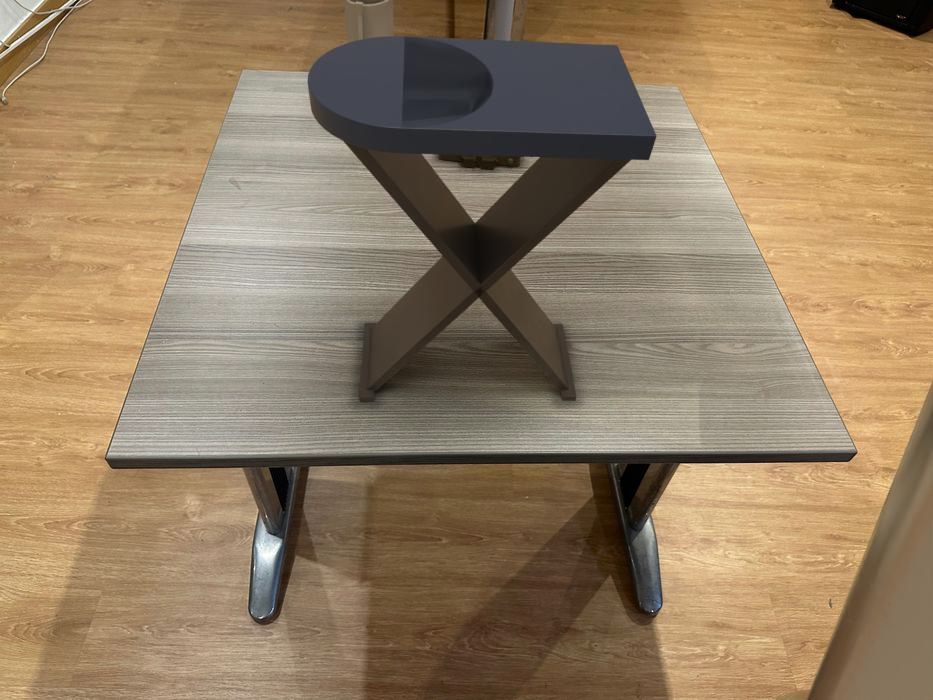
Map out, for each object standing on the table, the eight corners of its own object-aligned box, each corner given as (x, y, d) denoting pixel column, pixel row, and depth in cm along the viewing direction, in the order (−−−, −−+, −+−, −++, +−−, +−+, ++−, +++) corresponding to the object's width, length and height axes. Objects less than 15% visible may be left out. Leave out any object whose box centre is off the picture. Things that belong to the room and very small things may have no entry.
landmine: (433, 149, 98) (442, 100, 108) (433, 165, 100) (441, 114, 110) (525, 158, 98) (525, 107, 108) (523, 173, 100) (523, 122, 110)
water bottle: (358, 104, 110) (347, -61, 91) (403, 111, 110) (401, -53, 91) (341, 132, 104) (325, -38, 85) (388, 140, 104) (382, -30, 85)
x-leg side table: (559, 320, 81) (629, 45, 55) (577, 413, 72) (670, 136, 46) (349, 319, 79) (317, 32, 52) (340, 414, 70) (296, 124, 43)
